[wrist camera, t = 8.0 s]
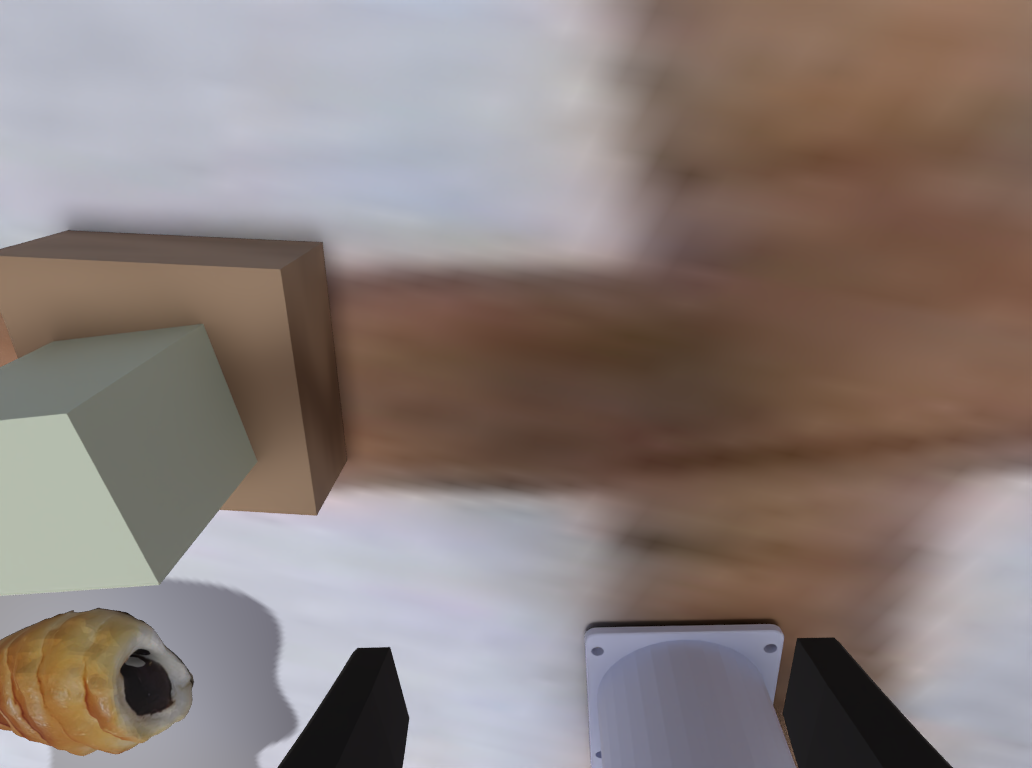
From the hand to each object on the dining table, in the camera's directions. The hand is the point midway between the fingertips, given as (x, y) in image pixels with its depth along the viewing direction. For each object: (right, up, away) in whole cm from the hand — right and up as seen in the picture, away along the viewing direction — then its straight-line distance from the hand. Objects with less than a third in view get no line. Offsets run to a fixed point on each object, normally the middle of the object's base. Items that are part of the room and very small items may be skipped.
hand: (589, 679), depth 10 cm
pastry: (-20, -7, +17) cm, 28 cm away
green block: (-12, +5, +6) cm, 14 cm away
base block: (-11, +6, +9) cm, 16 cm away
